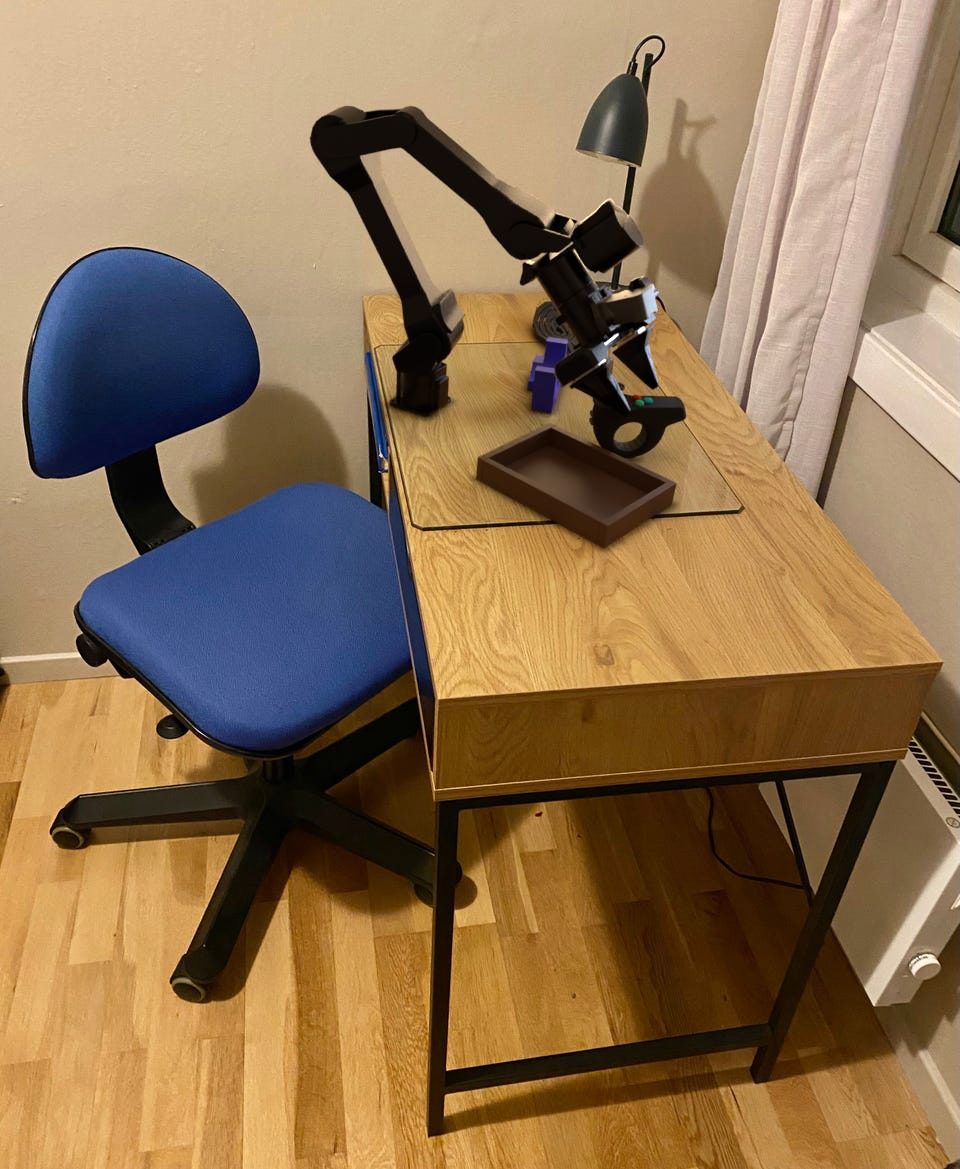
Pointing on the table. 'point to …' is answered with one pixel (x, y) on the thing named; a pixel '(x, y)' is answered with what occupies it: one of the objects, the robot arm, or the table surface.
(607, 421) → the controller
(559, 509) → the tray
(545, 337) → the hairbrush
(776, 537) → the table surface
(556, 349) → the purple stepped block
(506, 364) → the table surface
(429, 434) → the table surface
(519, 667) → the table surface
